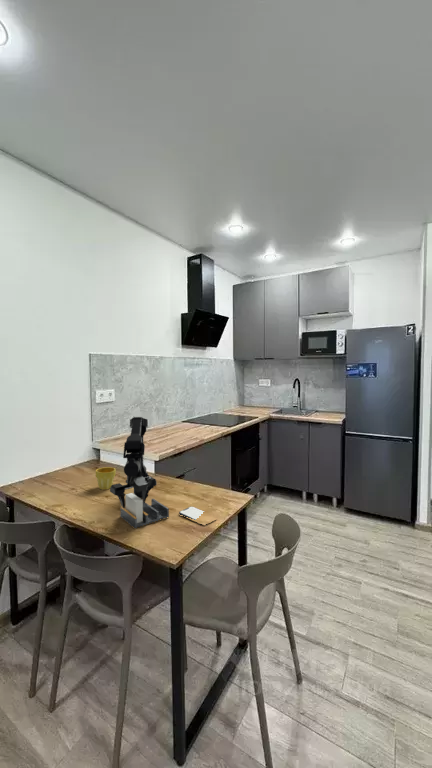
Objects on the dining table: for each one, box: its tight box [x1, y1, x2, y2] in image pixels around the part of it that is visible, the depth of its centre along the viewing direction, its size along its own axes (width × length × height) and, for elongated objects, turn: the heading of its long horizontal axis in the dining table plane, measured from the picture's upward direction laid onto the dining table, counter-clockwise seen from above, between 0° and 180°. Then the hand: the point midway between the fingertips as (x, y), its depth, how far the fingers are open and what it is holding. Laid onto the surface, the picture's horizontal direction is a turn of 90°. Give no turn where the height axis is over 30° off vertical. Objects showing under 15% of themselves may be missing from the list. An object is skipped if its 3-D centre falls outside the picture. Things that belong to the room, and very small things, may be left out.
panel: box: [125, 492, 143, 523], centre depth 135 cm, size 10×3×9 cm, turn 40°
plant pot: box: [95, 466, 117, 491], centre depth 173 cm, size 10×10×10 cm
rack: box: [119, 498, 170, 529], centre depth 139 cm, size 14×16×4 cm
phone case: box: [178, 506, 205, 520], centre depth 140 cm, size 9×2×16 cm
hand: (134, 505), depth 136 cm, fingers open, 9 cm apart
